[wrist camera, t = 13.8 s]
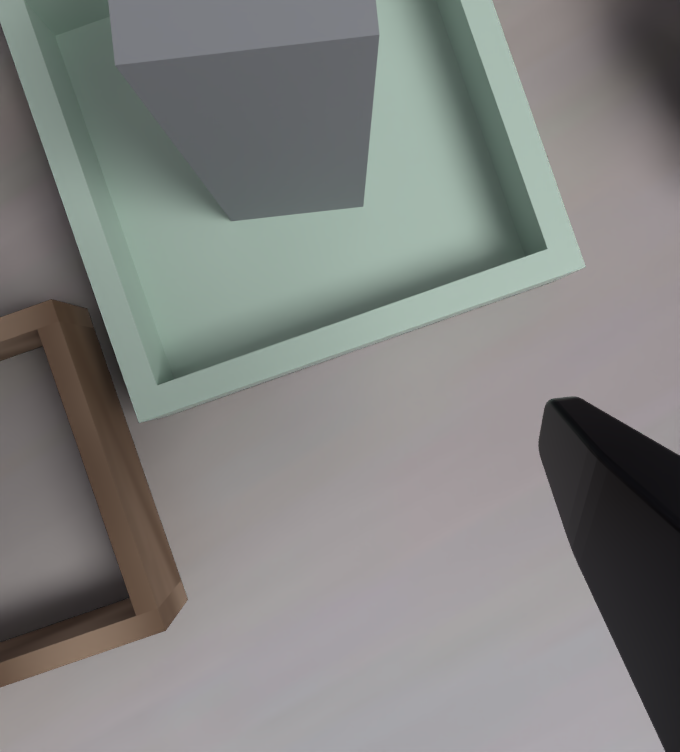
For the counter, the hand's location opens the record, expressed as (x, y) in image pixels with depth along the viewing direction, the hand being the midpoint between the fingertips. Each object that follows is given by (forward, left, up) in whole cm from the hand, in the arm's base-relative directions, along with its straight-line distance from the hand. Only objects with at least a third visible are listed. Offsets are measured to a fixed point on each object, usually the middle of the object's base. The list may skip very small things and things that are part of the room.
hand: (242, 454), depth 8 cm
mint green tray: (-3, -9, -13) cm, 16 cm away
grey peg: (-3, -9, -12) cm, 16 cm away
